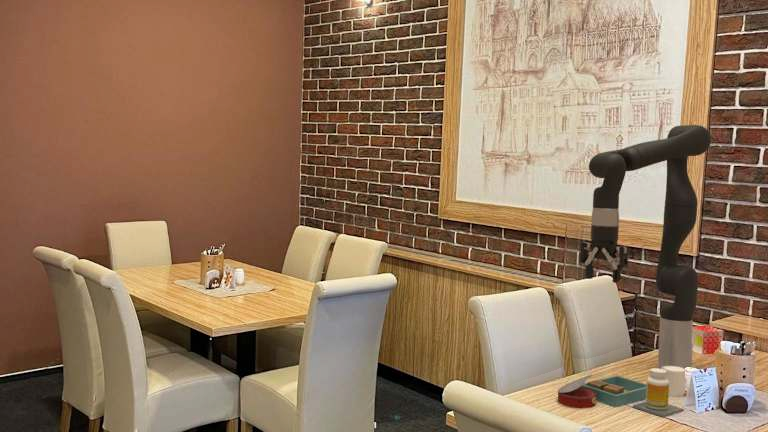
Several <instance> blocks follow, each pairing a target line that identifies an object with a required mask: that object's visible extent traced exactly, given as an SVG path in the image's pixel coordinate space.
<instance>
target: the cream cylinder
mask: <svg viewBox="0 0 768 432" xmlns="http://www.w3.org/2000/svg"><path fill="white" fill-rule="evenodd" d="M661 369H664V370H666V371H667V376H666V377H665V378H666V379H668V381H669V394H668V396H670V395H671V396H672V397H683V396H684V395H685V391H686V385H685V368H683V367H678V366H662V367H661ZM682 395H683V396H682ZM671 396H670V397H671Z"/></svg>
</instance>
